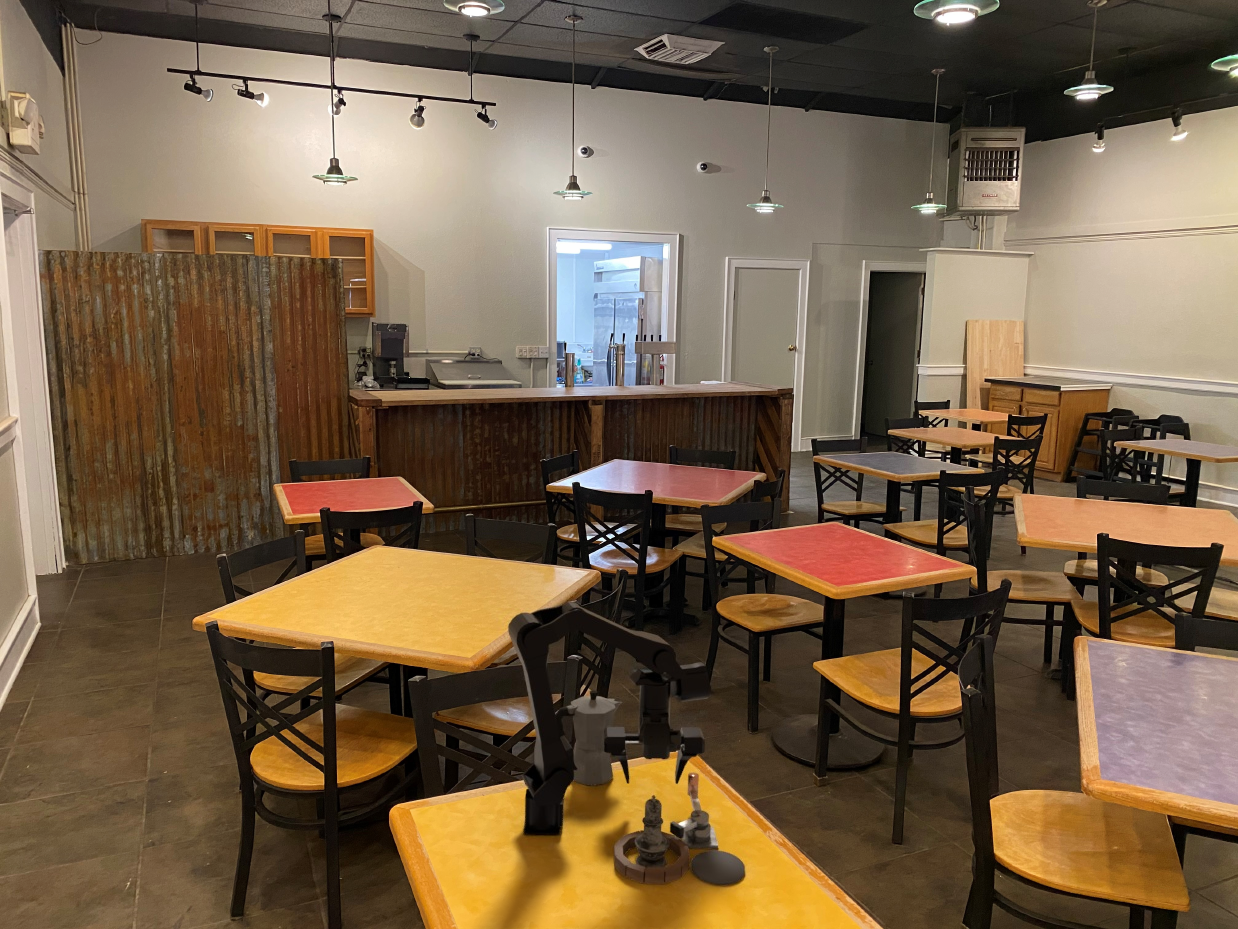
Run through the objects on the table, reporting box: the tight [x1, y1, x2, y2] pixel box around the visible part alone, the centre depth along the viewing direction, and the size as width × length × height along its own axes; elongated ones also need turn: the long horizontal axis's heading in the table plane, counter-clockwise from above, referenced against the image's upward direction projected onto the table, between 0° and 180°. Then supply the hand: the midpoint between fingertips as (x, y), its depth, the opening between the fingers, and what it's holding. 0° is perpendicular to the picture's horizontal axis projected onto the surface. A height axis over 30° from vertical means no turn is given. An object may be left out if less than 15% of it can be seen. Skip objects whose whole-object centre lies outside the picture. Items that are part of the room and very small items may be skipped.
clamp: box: [669, 772, 710, 840], centre depth 156 cm, size 7×16×4 cm, turn 2°
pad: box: [690, 849, 746, 886], centre depth 145 cm, size 9×9×1 cm
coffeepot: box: [555, 689, 623, 786], centre depth 175 cm, size 15×9×18 cm, turn 119°
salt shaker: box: [635, 794, 669, 867], centre depth 146 cm, size 6×6×12 cm
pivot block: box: [681, 823, 719, 850], centre depth 154 cm, size 6×6×2 cm
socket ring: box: [613, 829, 691, 885], centre depth 147 cm, size 13×13×2 cm
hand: (652, 782), depth 164 cm, fingers open, 9 cm apart
